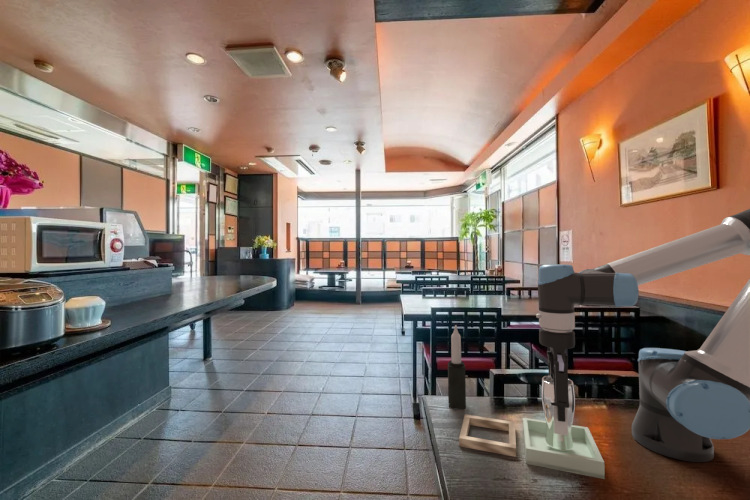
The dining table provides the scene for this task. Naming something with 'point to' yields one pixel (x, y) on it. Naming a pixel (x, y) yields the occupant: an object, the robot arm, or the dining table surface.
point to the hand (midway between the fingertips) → (558, 425)
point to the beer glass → (551, 438)
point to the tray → (574, 461)
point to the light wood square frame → (488, 444)
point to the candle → (456, 374)
